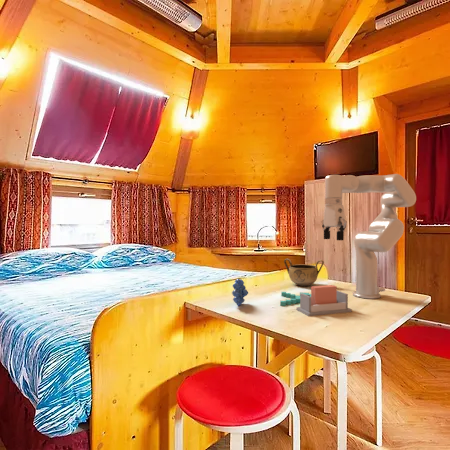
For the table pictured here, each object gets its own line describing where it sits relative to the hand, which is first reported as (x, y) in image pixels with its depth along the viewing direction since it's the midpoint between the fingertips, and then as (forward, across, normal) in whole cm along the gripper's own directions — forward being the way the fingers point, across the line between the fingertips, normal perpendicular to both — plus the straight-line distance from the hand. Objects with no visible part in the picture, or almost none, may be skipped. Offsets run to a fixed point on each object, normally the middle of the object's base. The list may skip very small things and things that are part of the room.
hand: (333, 239), depth 144 cm
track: (+28, -12, +13) cm, 33 cm away
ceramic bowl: (+28, +36, -6) cm, 46 cm away
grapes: (+28, +5, +43) cm, 52 cm away
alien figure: (+29, +4, +13) cm, 32 cm away
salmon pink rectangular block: (+27, -12, +13) cm, 32 cm away
